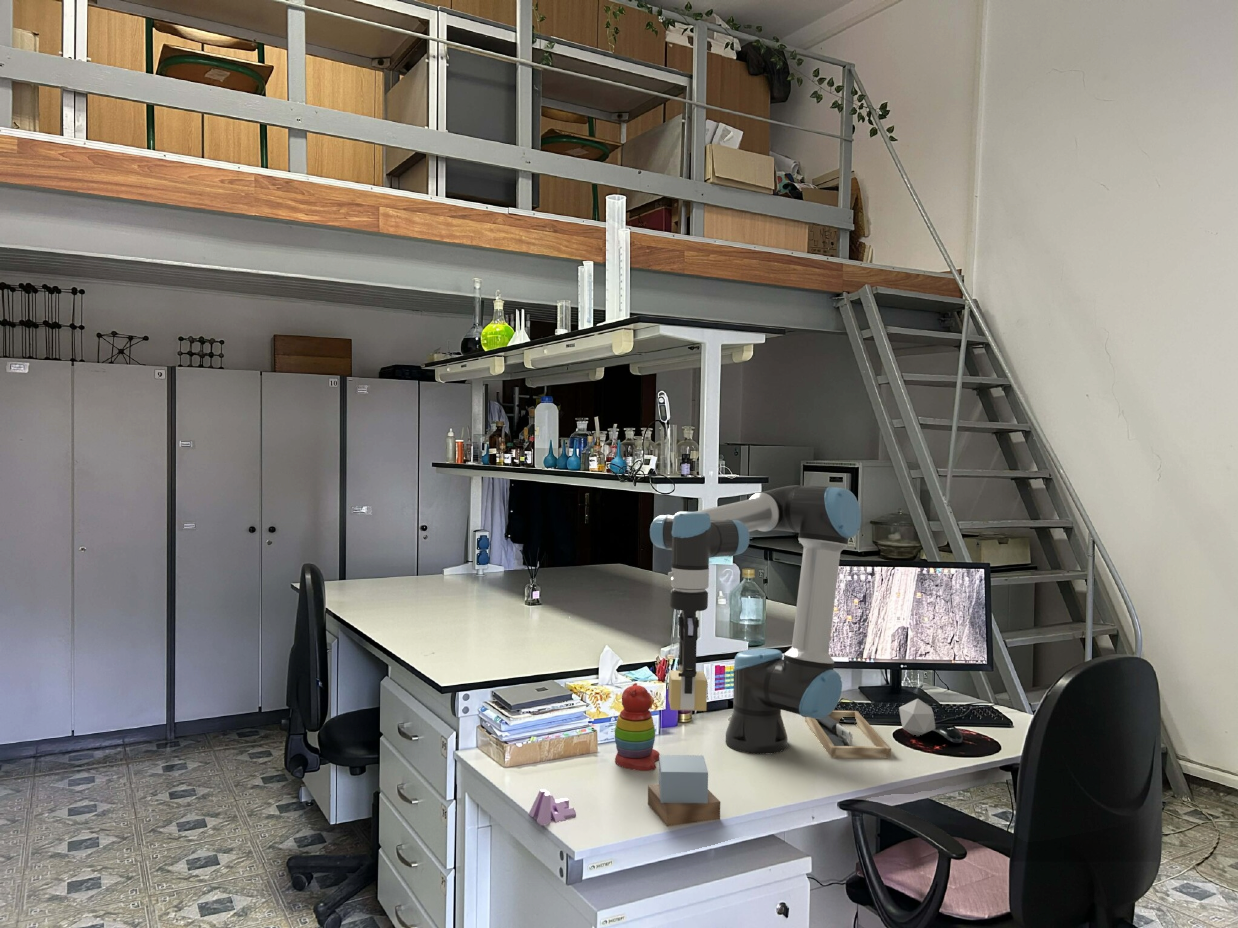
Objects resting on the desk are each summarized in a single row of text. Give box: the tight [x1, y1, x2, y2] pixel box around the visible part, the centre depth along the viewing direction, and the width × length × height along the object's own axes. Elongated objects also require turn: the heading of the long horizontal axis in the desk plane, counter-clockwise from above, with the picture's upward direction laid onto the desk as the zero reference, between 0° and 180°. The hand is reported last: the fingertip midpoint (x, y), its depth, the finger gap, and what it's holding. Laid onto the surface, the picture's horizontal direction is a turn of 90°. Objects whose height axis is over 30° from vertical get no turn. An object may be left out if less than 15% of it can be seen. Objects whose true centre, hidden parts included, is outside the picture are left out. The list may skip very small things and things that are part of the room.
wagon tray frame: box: [804, 710, 892, 759], centre depth 213 cm, size 14×28×3 cm, turn 0°
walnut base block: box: [647, 783, 721, 827], centre depth 168 cm, size 11×11×5 cm
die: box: [898, 698, 936, 737], centre depth 216 cm, size 8×9×10 cm
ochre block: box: [668, 669, 708, 712], centre depth 170 cm, size 7×7×6 cm
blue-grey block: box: [658, 754, 709, 803], centre depth 168 cm, size 9×9×6 cm
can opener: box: [816, 716, 854, 746], centre depth 213 cm, size 19×6×5 cm, turn 8°
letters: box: [528, 788, 577, 826], centre depth 165 cm, size 8×7×6 cm
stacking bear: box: [614, 682, 661, 772], centre depth 196 cm, size 11×10×18 cm
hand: (685, 702), depth 170 cm, fingers closed on ochre block, 7 cm apart
